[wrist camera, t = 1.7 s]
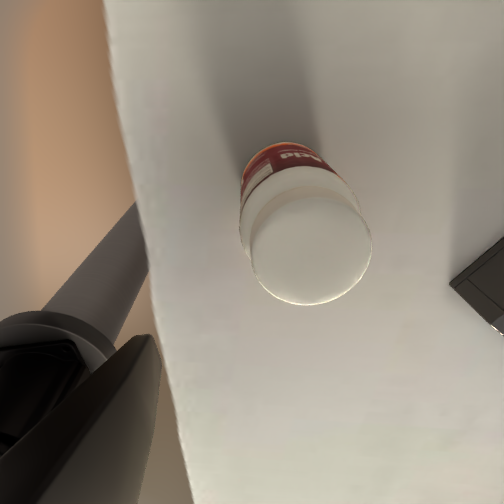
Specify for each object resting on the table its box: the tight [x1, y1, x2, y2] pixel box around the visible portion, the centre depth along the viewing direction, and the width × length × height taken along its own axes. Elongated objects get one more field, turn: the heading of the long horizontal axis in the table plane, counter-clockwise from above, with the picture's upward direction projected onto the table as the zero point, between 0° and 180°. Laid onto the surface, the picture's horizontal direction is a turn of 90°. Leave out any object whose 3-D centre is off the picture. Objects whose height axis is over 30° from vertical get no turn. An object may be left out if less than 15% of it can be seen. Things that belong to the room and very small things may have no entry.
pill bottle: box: [239, 142, 372, 305], centre depth 15 cm, size 5×5×8 cm
